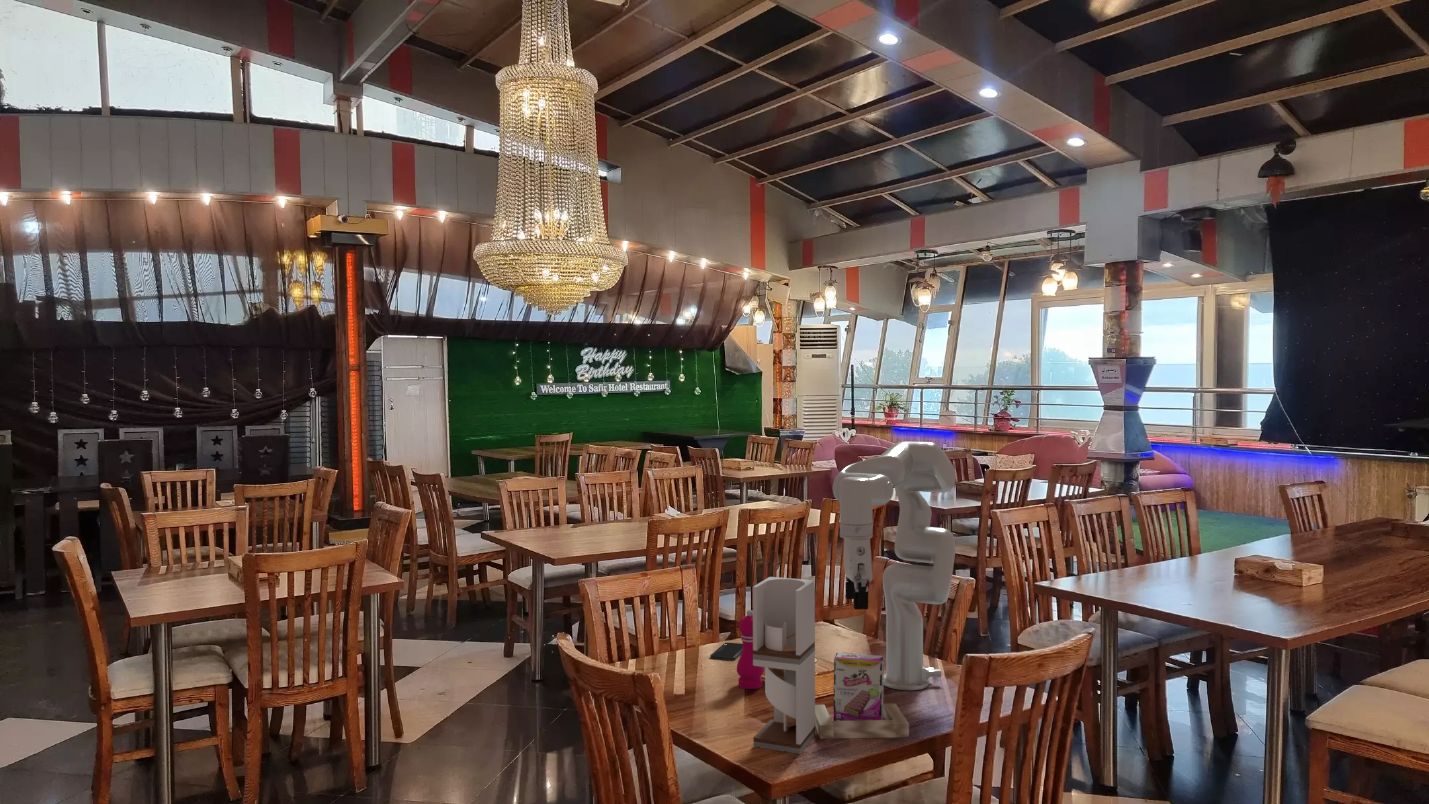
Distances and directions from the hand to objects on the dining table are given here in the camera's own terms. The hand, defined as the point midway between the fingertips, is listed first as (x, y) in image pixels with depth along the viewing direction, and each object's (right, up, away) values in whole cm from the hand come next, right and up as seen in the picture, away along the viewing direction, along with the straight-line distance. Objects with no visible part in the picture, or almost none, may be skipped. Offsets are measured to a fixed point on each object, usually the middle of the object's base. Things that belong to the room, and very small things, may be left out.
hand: (856, 603), depth 206 cm
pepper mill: (-24, -28, +28) cm, 46 cm away
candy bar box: (0, -28, -1) cm, 28 cm away
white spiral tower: (-18, -29, -9) cm, 35 cm away
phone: (-29, -28, +58) cm, 70 cm away
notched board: (0, -28, -2) cm, 28 cm away
